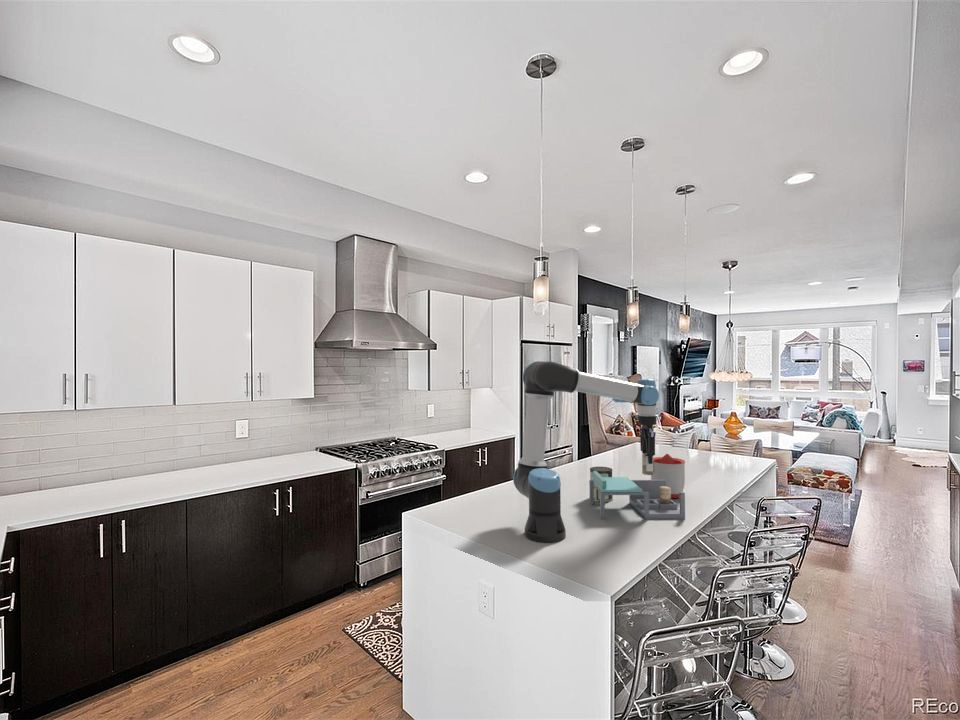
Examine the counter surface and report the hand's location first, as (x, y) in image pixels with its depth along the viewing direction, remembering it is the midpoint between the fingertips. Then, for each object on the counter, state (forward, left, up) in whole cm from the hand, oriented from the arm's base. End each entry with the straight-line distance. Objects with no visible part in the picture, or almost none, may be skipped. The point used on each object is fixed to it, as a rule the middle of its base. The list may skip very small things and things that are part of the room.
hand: (647, 469), depth 201 cm
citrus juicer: (+24, -17, -18) cm, 35 cm away
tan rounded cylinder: (0, 0, -2) cm, 2 cm away
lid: (+1, +13, -7) cm, 15 cm away
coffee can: (+19, +15, -18) cm, 31 cm away
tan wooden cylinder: (0, -7, -16) cm, 17 cm away
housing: (+1, +5, -18) cm, 19 cm away
